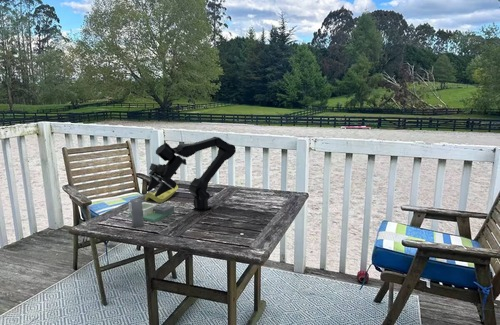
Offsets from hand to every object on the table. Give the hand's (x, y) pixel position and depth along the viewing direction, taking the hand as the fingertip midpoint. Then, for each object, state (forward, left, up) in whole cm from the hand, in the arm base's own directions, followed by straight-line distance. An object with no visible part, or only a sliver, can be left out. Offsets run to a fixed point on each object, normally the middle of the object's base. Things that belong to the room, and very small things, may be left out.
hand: (151, 193), depth 169 cm
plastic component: (+19, -29, -14) cm, 38 cm away
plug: (+3, +7, -13) cm, 15 cm away
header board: (+7, -6, -13) cm, 16 cm away
